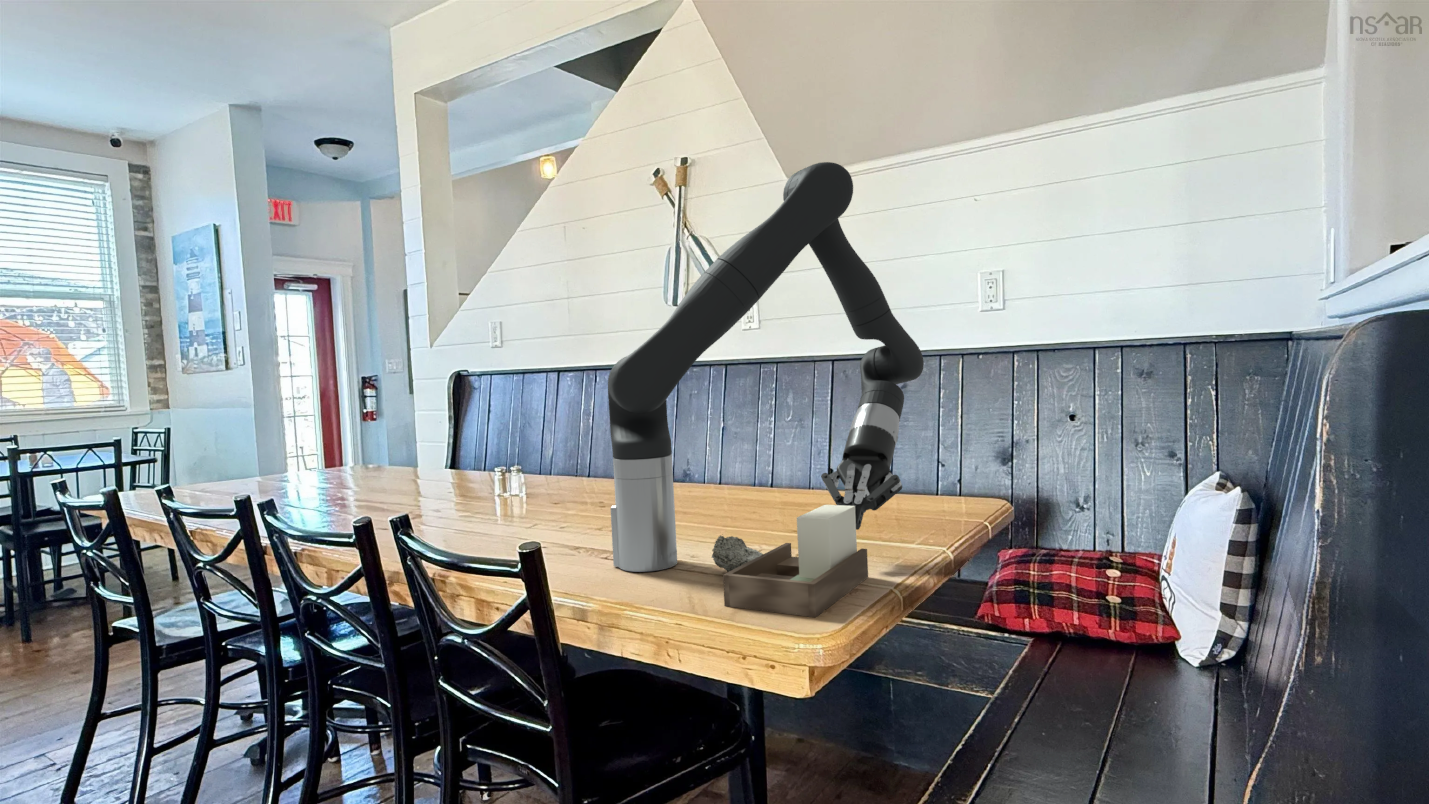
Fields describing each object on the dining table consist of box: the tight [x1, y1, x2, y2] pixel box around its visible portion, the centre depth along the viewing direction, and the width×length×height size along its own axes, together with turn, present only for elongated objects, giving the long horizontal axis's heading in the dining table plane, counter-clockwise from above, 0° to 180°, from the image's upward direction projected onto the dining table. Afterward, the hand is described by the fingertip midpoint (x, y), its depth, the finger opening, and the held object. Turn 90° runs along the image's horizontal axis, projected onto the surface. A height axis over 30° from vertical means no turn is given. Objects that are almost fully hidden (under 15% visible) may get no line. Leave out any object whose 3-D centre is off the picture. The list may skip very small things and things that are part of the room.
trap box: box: [722, 542, 869, 618], centre depth 103 cm, size 12×19×4 cm, turn 150°
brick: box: [796, 504, 858, 579], centre depth 106 cm, size 4×10×8 cm, turn 150°
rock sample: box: [711, 534, 764, 573], centre depth 115 cm, size 10×8×9 cm
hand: (848, 529), depth 113 cm, fingers closed
